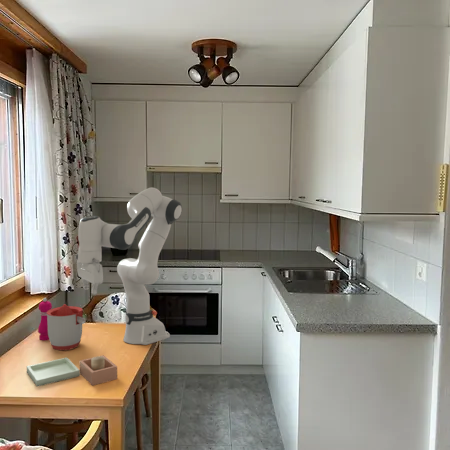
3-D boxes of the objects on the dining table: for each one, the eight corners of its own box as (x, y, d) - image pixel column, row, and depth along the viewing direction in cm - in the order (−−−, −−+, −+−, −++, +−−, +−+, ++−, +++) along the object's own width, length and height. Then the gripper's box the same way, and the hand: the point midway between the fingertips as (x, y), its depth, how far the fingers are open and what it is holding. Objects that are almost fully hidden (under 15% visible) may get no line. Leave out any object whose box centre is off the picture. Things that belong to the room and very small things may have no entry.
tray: (67, 362, 191) (66, 357, 191) (79, 376, 178) (79, 370, 178) (26, 372, 182) (26, 366, 181) (37, 386, 169) (36, 380, 168)
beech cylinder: (102, 372, 182) (101, 355, 181) (106, 376, 178) (106, 359, 177) (89, 375, 179) (89, 358, 178) (94, 379, 175) (93, 362, 174)
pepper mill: (57, 336, 223) (56, 296, 221) (48, 341, 216) (46, 300, 214) (44, 335, 225) (43, 295, 223) (35, 340, 218) (33, 299, 216)
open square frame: (103, 366, 187) (103, 355, 186) (117, 378, 176) (117, 366, 175) (79, 372, 181) (79, 360, 181) (92, 385, 170) (91, 372, 169)
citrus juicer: (76, 354, 201) (75, 310, 199) (40, 351, 204) (39, 307, 202) (92, 342, 216) (91, 300, 214) (59, 339, 219) (57, 299, 217)
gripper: (107, 260, 173) (107, 295, 174) (89, 253, 189) (89, 286, 190) (91, 261, 169) (91, 297, 170) (74, 254, 186) (74, 287, 187)
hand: (90, 291), depth 180 cm, fingers open, 8 cm apart
